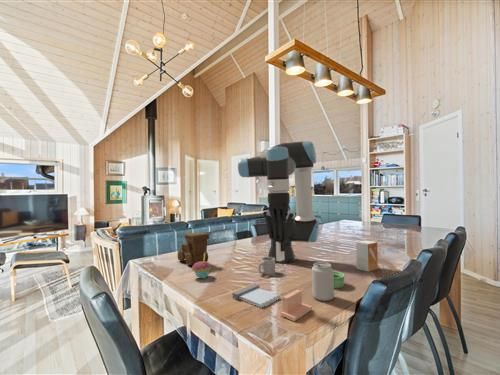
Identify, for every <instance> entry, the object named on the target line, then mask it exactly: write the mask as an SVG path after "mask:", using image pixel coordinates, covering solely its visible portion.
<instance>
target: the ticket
mask: <svg viewBox="0 0 500 375" xmlns="http://www.w3.org/2000/svg"><path fill="white" fill-rule="evenodd" d="M233 298H235V299H234V300H236V299H237V300H236V301H238V299H239V300H240V299H241V301H242V300H243V302H245V301H246V302H245V303H247V302H248V304H249V303H251V304H250V305H252V304H253V306H254V305H256V306H255V307H257V306H258V307H257V308H259V307H261V308H260V309H263V308H265V307H267V306H269V305H271V304H273V303H275V302H276V300H277V301H279V300H280V299H281V295H280V294H276V293H274V292H271V291H268V290H266V289H262V288H261V286H260V284H257V283H253V284H251V285H248V286H246V287H243V288H240V289H238V290H236V291H234V292H232V299H233ZM278 299H279V300H278ZM274 301H275V302H274ZM272 302H273V303H272ZM270 303H271V304H270ZM264 306H265V307H264ZM262 307H263V308H262Z"/></svg>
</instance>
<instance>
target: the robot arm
mask: <svg viewBox="0 0 500 375" xmlns="http://www.w3.org/2000/svg"><path fill="white" fill-rule="evenodd" d="M316 163H317V155H316V149H315V145H314V143H313V142H312V141H308V140H307V141H305V140H302V141H295V142H294V141H293V142H292V141H291V142H284V143H279V144H277V145H274V146H272V147H269V148H267V149H266V150H265V152H263V153H260V154H258V155H256V156H254V157H250V158H241V159H240V160H239V161H238V164H237V172H238V174H239V176H240V177H241V178H258V177H260V178H261V177H266V180H267V192H269V193H267V203H268V207H267V210H266V211H263V212H262V214H263V216H264V218H265V223H266V228H267V232H268V236H269V239H270V247H269V251H268V254H267V257H273V258H275V264H276V263H278V264H287V263H293V262H295V261H296V255H295V253H294V250H293V246H292V245H293V244H292V242H295V243H299V242H300V243H316V242H317V241H318V236H319V231H320V230H319V229H320V227H319V226H320V221H319V220H317V217H316V216H315V215H314V214H313V212H314V210H313V192H312V169H313V168H314V164H316ZM292 174H294V189H295V190H294V191H295V192H294V193H295V209H296V210H295V211H296V212H293V211H292V210H291V207H290V202H291V200H290V199H291V198H290V192H289V191H290V176H291V175H292Z"/></svg>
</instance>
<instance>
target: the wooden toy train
mask: <svg viewBox="0 0 500 375" xmlns="http://www.w3.org/2000/svg"><path fill="white" fill-rule="evenodd" d="M183 238H184V240H185V241H186V242H182V243H181V249H179V250H177V255H176V256H177V260H178V261H179V260H180V261H183V262H184V261H185V263H186V265H187V264H188V265H192V266H193V265H194V264H195V263H196V262H200V261H203V258H204V253H205V261H206V262H208V261H209V253H208V252H207V249H208V240H210V234H209V233H207V232H202V231H201V232H198V231H197V232H185V234H184V235H183ZM180 261H179V262H180ZM188 265H187V266H188Z"/></svg>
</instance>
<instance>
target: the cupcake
mask: <svg viewBox="0 0 500 375" xmlns="http://www.w3.org/2000/svg"><path fill="white" fill-rule="evenodd" d="M211 269H212V264H210V263H209V262H208V261H207V262H206V261H205V253H204V258H203V261H200V262H196V263H193V264H192V266H191V270H192V272H194V273H195V276H197V277H199V278H204V279H206V278H205V277H207V278H208V275H209V273H210V270H211ZM197 277H196V278H197Z"/></svg>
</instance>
